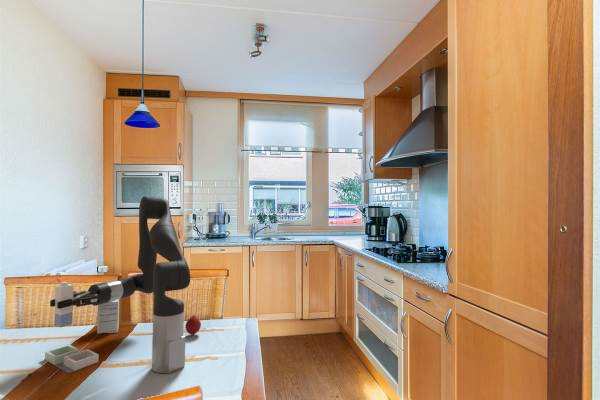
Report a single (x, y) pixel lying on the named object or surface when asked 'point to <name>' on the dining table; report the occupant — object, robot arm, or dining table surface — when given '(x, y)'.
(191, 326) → the onion
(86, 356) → the double bin tray
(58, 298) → the milk carton
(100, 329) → the supplement box
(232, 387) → the dining table surface
